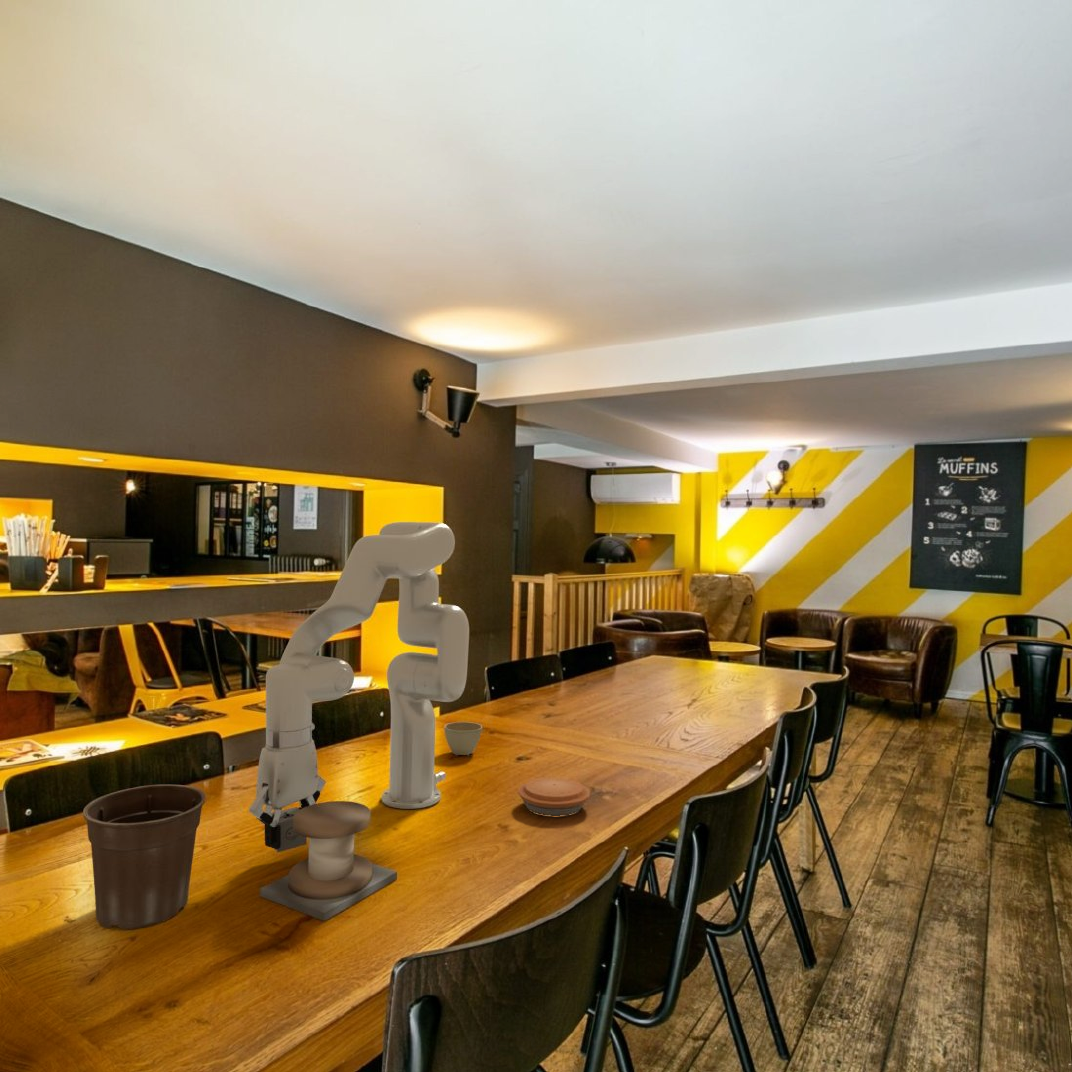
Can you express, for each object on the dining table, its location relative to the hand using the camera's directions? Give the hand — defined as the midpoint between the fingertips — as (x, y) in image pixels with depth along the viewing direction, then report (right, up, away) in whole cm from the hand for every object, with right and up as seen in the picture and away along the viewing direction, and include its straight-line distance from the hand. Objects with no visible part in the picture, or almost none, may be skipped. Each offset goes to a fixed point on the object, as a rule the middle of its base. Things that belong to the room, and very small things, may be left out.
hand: (289, 838), depth 127 cm
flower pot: (+23, -5, +66) cm, 70 cm away
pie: (+47, -6, +28) cm, 55 cm away
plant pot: (-16, -4, -17) cm, 24 cm away
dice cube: (0, -1, 0) cm, 1 cm away
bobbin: (+10, -4, -9) cm, 14 cm away
